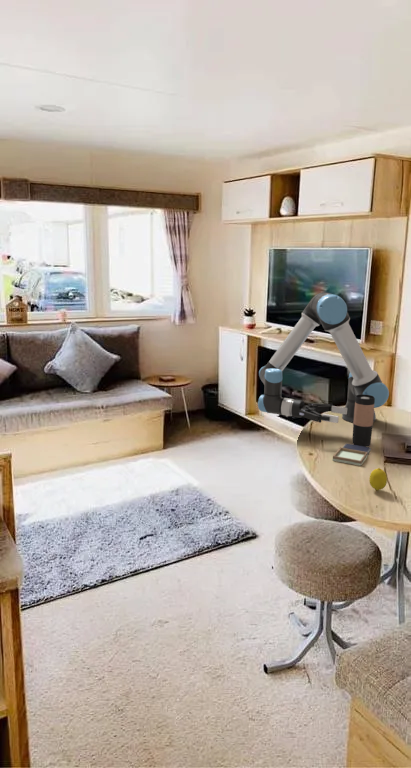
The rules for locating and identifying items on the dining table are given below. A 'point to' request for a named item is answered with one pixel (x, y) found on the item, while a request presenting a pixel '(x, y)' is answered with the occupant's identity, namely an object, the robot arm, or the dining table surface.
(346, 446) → the ink pad
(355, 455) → the box
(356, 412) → the travel mug
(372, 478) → the lemon
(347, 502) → the dining table surface
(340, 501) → the dining table surface
